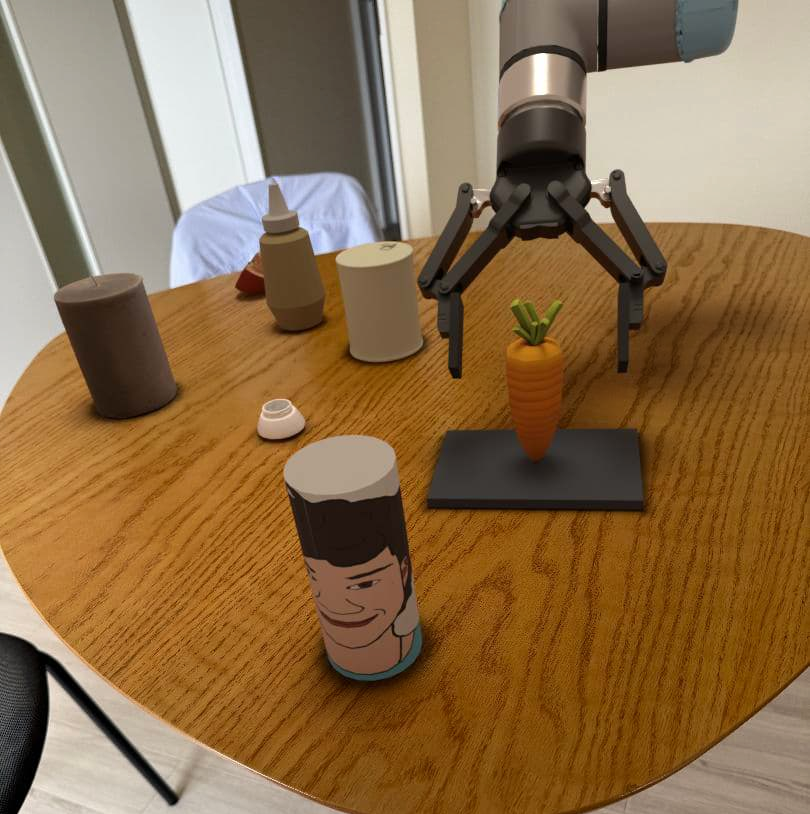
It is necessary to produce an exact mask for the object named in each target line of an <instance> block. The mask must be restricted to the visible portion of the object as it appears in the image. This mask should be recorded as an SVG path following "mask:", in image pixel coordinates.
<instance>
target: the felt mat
mask: <svg viewBox="0 0 810 814" xmlns="http://www.w3.org/2000/svg"><path fill="white" fill-rule="evenodd" d="M443 438H444V439H443V442H442V444H441V449H440V452H439V457H438V459H437V462H436V466H435V470H434V473H433V476H432V480H431V483H430V486H429V490H428V493H427V496H426V503H427V508H433V509H434V508H435V509H436V508H437V509H438V508H442V509H443V508H445V509H446V508H447V509H522V510H523V509H525V510H526V509H529V510H530V509H531V510H532V509H533V510H534V509H535V510H608V511H609V510H611V511H612V510H614V511H615V510H617V511H618V510H620V511H627V510H628V511H643V510H644V503H645V499H644V490H643V479H642V478H643V477H642V466H641V457H640V456H641V455H640V445H639V434H638V428H637V427H630V428H629V427H628V428H627V427H623V428H621V427H619V428H618V427H617V428H614V427H613V428H611V427H610V428H556V431H555V434H554V436H553V439H552V441H551V443H550V446H549V447H548V449H547V450H546V452H545V454H544V455H543V457H542V458H541V459H540V460H538V461H537V462H534V461H533V460H531V459H530V458H529V457H528V455H527V454H526V452H525V451H524V449H523V448H522V445H521V443H520V441H519V439H518V437H517V434H516V430H515V428H514V429H446V431H445V435H444V437H443Z"/></svg>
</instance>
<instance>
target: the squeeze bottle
mask: <svg viewBox="0 0 810 814" xmlns="http://www.w3.org/2000/svg"><path fill="white" fill-rule="evenodd" d="M261 221H262V222H261V223H262V228H263V232H264V233H263V234H262V235H261V236H260V237H259V239H258V243H259V253H260V254H261V260H262V268H263V276H264V284H265V290H264V292H265V300H266V305H267V307H268V309H269V310H270V312H271V314H272V316H273V317H274V319H275V320H276V322H277V324H278V326H279V327H280V328H281V329H282V330H285V331H302V330H307V329H310V328H313V327H316V326H317V325H319V324H320V323H321V322H322V321H323V315H324V309H325V308H324V307H325V301H326V290H325V287H324V283H323V280H322V276H321V272H320V268H319V265H318V262H317V259H316V255H315V251H314V248H313V247H314V246H313V244H312V241H311V237H310V233H309V230H307V229H306V228H304V227H301V226H300V218H299V213H298V211H296V210H294V209H289V207H288V205H287V203H286V200H285V198H284V195H283V193H282V190H281V187H280V186H279V183H278V182H272V183H269V184H268V213H265V214H263V215H262V216H261Z"/></svg>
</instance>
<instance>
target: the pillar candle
mask: <svg viewBox="0 0 810 814" xmlns="http://www.w3.org/2000/svg"><path fill="white" fill-rule="evenodd" d="M143 280H144V277H143V276H142V275H140V274H137V273H136V274H135V273H133V272H132V273H130V272H118V273H116V272H113V273H106V274H98V275H93V274H90V276H89V277H87V278H83V279H80V280H77V281H73V282H71V283H69V284H66V285H65V286H63V287H61V288H59V289H57V290H56V292H55V293H54V294H53V301H54V303H55V307H56V310H57V311H58V314H59V317H60V320H61V323H62V325H63V328H64V329H65V333H66V335H67V337H68V340H69V343H70V346H71V349H72V351H73V354H74V356H75V359H76V361H77V364H78V366H79V369H80V371H81V375H82V376H83V379H84V381H85V384H86V387H87V389H88V391H89V394H90V397H91V399H92V401H93V404H94V406H95V409H96V412H97V413H98V415H101V416H103V417H106V418H113V419H127V418H128V419H129V418H132V417H136V416H141V415H144V414H149V413H150V412H153V411H156V410H158V409H160V408H162V407H164V406H165V405H167V404H168V403H170V402H171V401H172V400H173V399H174V398H175V397H176V395H177V393H178V388H177V384H176V380H175V378H174V374H173V371H172V368H171V365H170V362H169V358H168V355H167V352H166V348H165V347H164V344H163V340H162V337H161V334H160V330H159V327H158V324H157V320H156V318H155V315H154V312H153V309H152V305H151V303H150V299H149V297H148V293H147V291H146V287H145V284H144V282H143Z"/></svg>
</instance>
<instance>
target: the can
mask: <svg viewBox="0 0 810 814" xmlns="http://www.w3.org/2000/svg"><path fill="white" fill-rule="evenodd" d="M414 261H415V260H414V248H413V247H412V245H410V244H408V243H405V242H401V241H375V242H368V243H363V244H359V245H355V246H352V247H350V248H347V249H345V250H343V251H341V252H339V253H338V254H337V255H336V257H335V264H336V268H337V273H338V279H339V285H340V290H341V295H342V302H343V308H344V314H345V319H346V327H347V332H348V340H349V353H350V355H351V356H352V357H353V358H354V359H356V360H359V361H362V362H366V363H367V362H368V363H386V362H387V363H388V362H393V361H398V360H402V359H405V358H407V357H409V356H412V355H414V354H416V353H417V352H418V351H419V350H421V349H422V348H423V345H424V339H423V336H422V335H423V334H422V329H421V320H420V313H419V304H418V295H417V284H416V283H417V282H416V273H415V264H414Z"/></svg>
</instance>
